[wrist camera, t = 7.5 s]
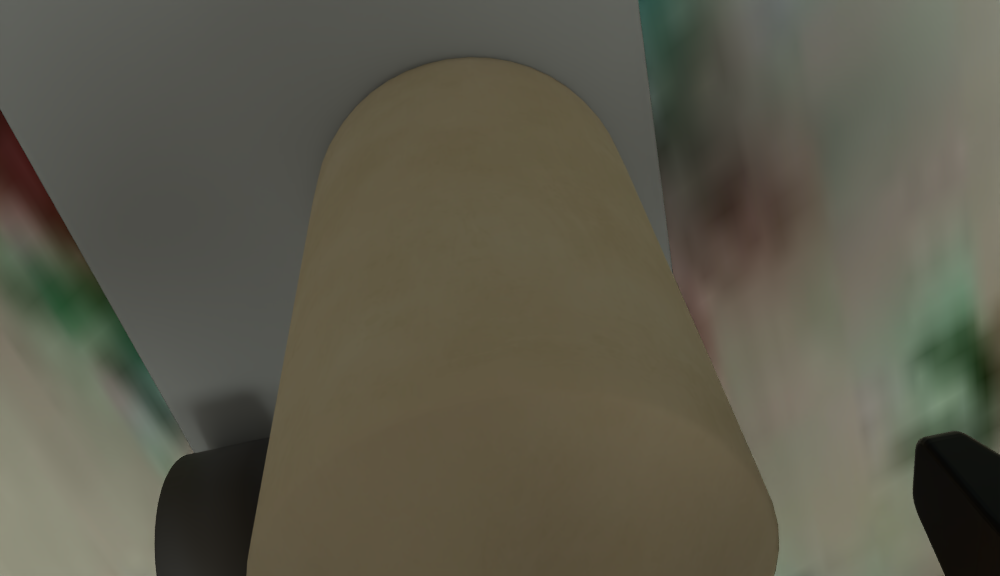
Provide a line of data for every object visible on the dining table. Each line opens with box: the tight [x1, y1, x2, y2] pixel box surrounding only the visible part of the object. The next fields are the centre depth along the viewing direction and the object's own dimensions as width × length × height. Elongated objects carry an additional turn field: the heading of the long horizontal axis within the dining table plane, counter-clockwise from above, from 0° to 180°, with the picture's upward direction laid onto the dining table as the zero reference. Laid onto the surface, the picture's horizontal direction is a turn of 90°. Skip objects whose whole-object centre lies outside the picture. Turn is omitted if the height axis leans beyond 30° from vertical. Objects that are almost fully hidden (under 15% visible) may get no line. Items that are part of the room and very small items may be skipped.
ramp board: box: [0, 0, 673, 453], centre depth 18 cm, size 10×18×2 cm, turn 12°
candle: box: [246, 57, 779, 576], centre depth 12 cm, size 6×6×10 cm
